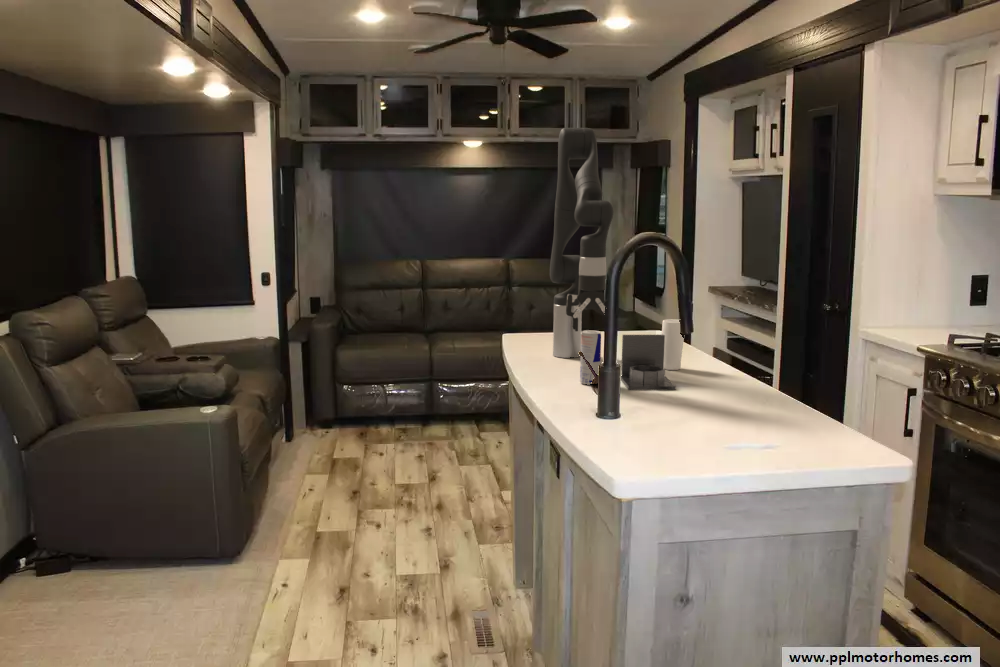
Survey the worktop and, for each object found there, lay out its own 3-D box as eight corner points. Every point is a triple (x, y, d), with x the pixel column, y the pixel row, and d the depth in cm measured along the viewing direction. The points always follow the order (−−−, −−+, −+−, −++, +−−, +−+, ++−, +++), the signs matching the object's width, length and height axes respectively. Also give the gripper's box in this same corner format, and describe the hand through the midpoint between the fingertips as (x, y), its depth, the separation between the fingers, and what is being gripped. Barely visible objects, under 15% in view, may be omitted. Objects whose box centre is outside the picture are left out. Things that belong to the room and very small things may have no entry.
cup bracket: (619, 378, 239) (620, 334, 237) (663, 378, 240) (665, 334, 237) (628, 390, 225) (630, 343, 223) (675, 389, 226) (677, 343, 224)
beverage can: (599, 386, 230) (600, 333, 227) (579, 385, 231) (580, 332, 228) (600, 381, 235) (602, 330, 232) (581, 380, 236) (582, 329, 234)
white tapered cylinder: (681, 366, 256) (683, 319, 253) (684, 371, 249) (686, 322, 246) (659, 366, 256) (661, 318, 254) (661, 370, 250) (663, 322, 247)
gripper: (615, 272, 232) (614, 328, 234) (565, 272, 231) (564, 328, 234) (620, 274, 224) (618, 333, 227) (568, 274, 224) (567, 333, 226)
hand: (591, 330), depth 230 cm, fingers open, 8 cm apart
